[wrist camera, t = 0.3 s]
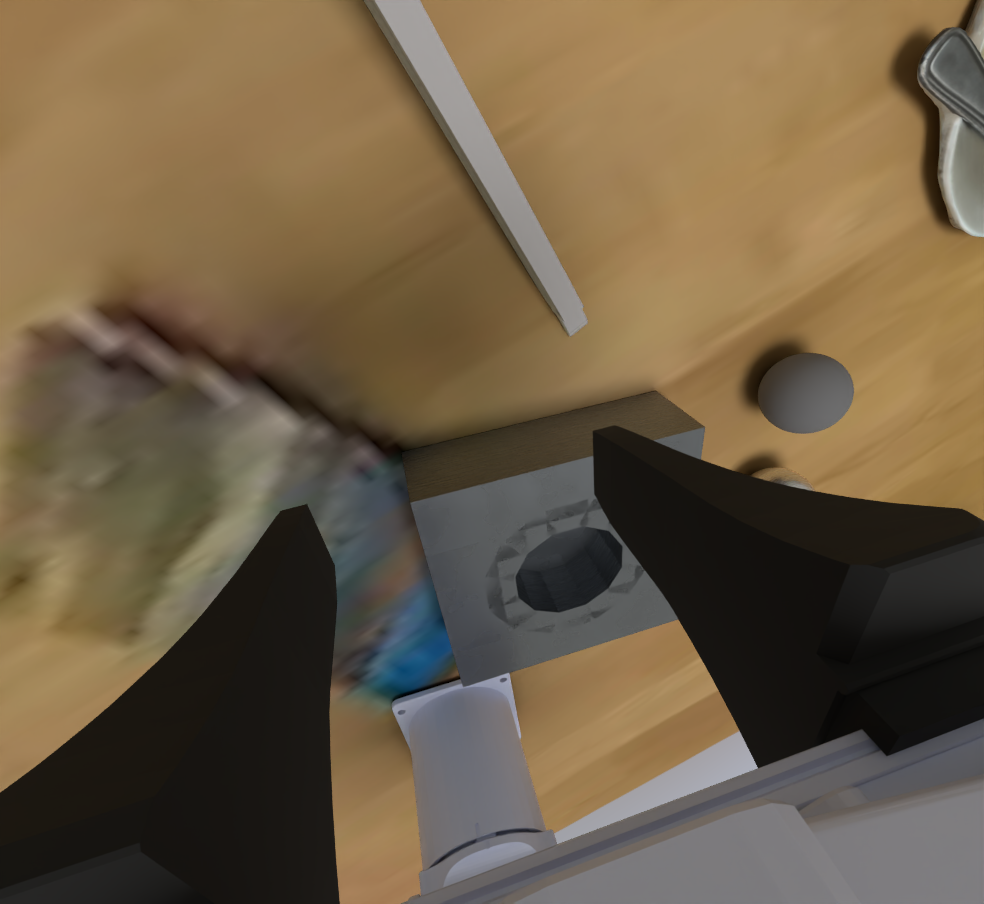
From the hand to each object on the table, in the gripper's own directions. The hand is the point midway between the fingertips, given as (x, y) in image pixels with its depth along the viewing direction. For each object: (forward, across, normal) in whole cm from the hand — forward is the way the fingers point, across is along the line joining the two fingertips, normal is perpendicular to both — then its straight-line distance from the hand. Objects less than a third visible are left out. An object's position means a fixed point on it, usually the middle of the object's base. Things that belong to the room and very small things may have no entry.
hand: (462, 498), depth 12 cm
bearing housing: (+10, -5, +11) cm, 15 cm away
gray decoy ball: (+8, -18, +5) cm, 21 cm away
